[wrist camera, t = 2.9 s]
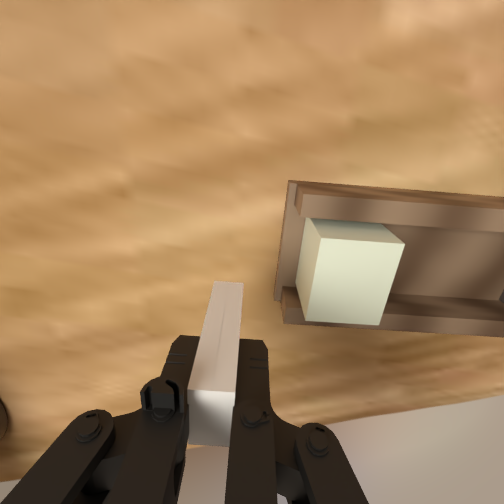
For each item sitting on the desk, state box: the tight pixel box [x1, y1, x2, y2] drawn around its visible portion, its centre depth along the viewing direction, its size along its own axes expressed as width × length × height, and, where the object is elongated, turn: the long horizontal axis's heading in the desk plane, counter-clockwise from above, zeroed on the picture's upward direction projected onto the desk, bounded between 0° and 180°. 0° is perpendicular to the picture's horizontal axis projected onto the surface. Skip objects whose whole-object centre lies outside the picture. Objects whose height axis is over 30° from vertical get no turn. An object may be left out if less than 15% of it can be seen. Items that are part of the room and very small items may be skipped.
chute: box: [274, 180, 504, 337], centre depth 23 cm, size 20×10×4 cm, turn 86°
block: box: [295, 218, 405, 325], centre depth 21 cm, size 5×6×5 cm
